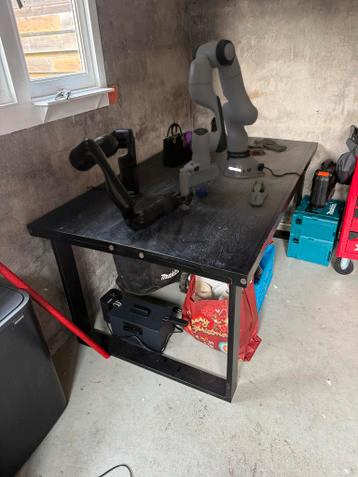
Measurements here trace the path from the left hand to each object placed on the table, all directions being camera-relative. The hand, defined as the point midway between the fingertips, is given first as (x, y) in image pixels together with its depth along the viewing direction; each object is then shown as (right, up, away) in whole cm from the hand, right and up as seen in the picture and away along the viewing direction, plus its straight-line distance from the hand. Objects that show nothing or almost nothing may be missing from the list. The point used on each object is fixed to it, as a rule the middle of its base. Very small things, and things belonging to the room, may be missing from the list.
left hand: (188, 193), depth 152 cm
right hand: (+7, +3, +14) cm, 16 cm away
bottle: (-1, -7, +1) cm, 7 cm away
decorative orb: (+4, +40, +81) cm, 91 cm away
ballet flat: (+34, -1, +8) cm, 35 cm away
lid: (+7, +3, +14) cm, 16 cm away
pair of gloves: (+52, +41, +79) cm, 104 cm away
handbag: (-6, +29, +64) cm, 70 cm away
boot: (+24, +50, +98) cm, 113 cm away
